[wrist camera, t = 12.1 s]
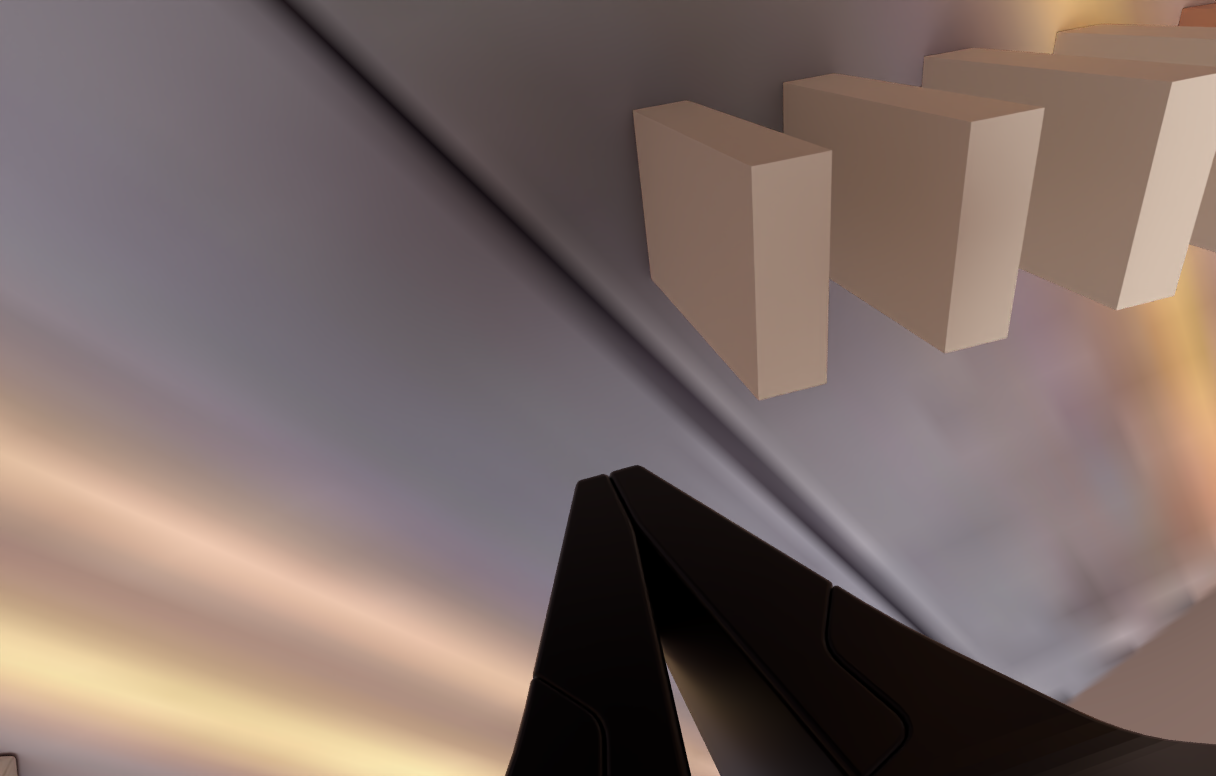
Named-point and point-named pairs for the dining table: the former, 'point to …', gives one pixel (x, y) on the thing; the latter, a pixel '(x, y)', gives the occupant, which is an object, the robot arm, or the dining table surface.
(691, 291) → the domino
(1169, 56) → the domino
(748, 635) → the robot arm
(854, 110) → the domino
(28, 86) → the dining table surface
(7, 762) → the small box
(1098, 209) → the domino
